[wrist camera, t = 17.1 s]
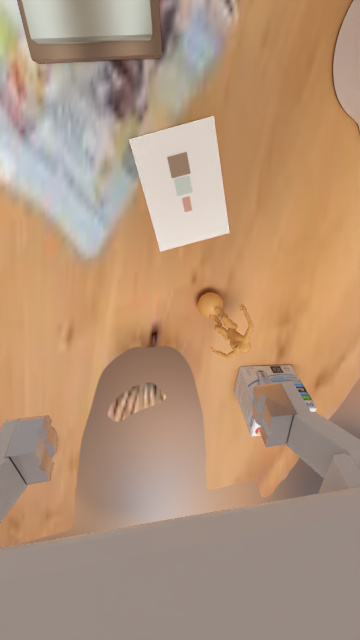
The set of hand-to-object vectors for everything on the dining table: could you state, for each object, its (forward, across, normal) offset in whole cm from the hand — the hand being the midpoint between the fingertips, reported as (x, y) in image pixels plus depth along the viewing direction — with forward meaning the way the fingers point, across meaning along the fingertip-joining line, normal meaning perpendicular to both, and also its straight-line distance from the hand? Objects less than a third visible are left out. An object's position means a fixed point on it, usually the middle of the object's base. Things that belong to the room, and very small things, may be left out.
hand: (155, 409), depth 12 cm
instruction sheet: (+33, -6, -1) cm, 34 cm away
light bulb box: (+33, -20, +35) cm, 52 cm away
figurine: (+33, -10, +16) cm, 38 cm away
